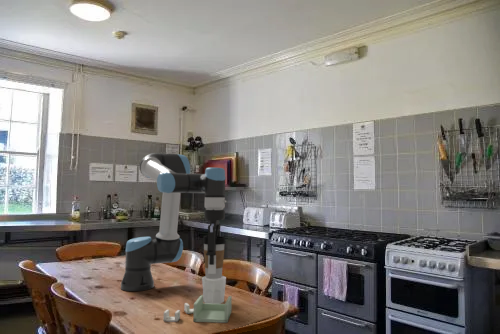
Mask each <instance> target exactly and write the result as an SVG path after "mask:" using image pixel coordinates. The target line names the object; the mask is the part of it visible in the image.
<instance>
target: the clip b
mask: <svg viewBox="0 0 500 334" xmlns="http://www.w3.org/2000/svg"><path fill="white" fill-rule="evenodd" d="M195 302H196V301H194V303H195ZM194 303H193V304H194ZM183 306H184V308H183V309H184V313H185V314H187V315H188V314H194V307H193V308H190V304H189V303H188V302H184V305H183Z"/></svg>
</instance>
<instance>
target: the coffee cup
mask: <svg viewBox="0 0 500 334" xmlns="http://www.w3.org/2000/svg"><path fill="white" fill-rule="evenodd" d="M202 244H203V258H204V259H203V260H204V270H205V271H204V272H205V276H206V278H209V279H218V278H221V277H222V276H223V268H224V258H225V244H226V237H225V236H221V235H220V236H219V238H216V252H215V253H216V274H208V255H206V253H207V249H208V234H207V235H203V238H202Z"/></svg>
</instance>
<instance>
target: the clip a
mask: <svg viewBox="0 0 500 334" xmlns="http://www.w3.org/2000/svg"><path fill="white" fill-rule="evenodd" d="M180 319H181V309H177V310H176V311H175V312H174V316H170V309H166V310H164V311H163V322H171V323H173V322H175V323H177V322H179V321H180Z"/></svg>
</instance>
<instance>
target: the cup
mask: <svg viewBox="0 0 500 334" xmlns="http://www.w3.org/2000/svg"><path fill="white" fill-rule="evenodd" d="M201 285H202V295H203V303H211V304H223V303H225V296H226V295H225V294H226V285H227V277H226V276H224V275H222V277H221V278H218V279H209V278H206V275H205V276H202V277H201Z"/></svg>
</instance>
